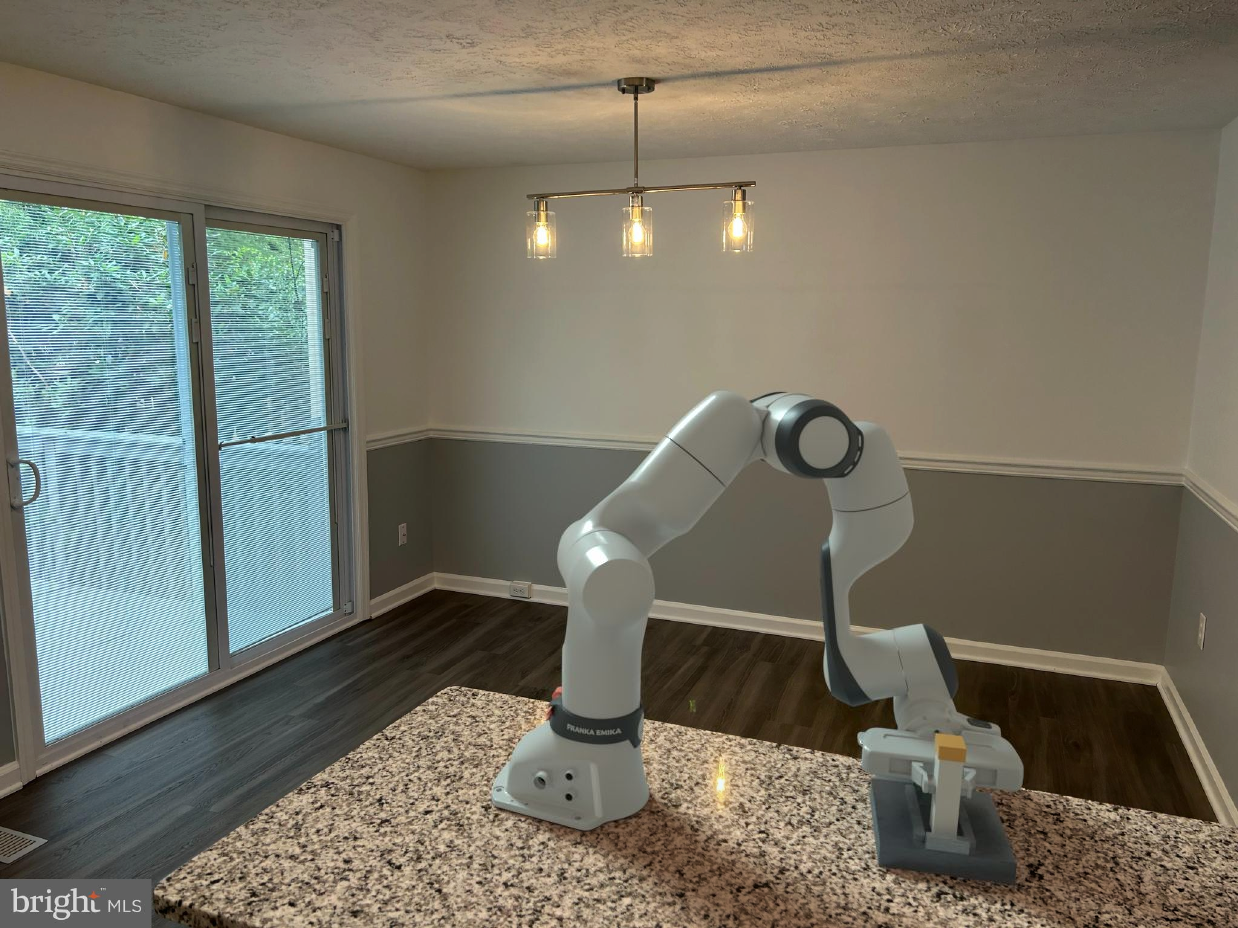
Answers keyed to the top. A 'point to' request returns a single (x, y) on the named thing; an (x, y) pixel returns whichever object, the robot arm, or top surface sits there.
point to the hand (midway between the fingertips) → (947, 790)
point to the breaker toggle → (947, 783)
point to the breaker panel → (939, 835)
